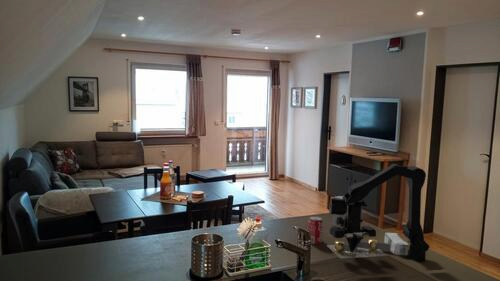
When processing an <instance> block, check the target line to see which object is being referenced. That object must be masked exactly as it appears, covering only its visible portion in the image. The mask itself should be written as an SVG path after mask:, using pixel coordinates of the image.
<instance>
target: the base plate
mask: <svg viewBox="0 0 500 281" xmlns="http://www.w3.org/2000/svg"><path fill="white" fill-rule="evenodd" d="M334 246H335V244H330V245H329V244H326V247H327V248H329V250H331V251H332V252H333V253H334V254H335V255H336V256H337V257H338V258H339V259H353V258H357V259H358V258H371V257H388V255H389V254H387V253H385V251H384V250H381V249H377V250H370V249H364V248H359V247H357V250H356V253H353V252H347V251H343V252H337V251H335V250H334Z"/></svg>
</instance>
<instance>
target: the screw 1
mask: <svg viewBox="0 0 500 281" xmlns="http://www.w3.org/2000/svg"><path fill="white" fill-rule="evenodd" d="M334 245H335V246H334V250H335V251H337V252H343V251H347V252H351V251H350V248H349V245H348V243H345V241H342V240H335V241H334ZM356 250H357V246H356V248H355V249H354V251H353V253H356Z"/></svg>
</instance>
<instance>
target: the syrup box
mask: <svg viewBox="0 0 500 281" xmlns="http://www.w3.org/2000/svg"><path fill="white" fill-rule="evenodd" d="M383 243H388V244H390V251H391V252H392V253H393V254H394V255H396V256H409V243H407V241H405V240H404V239H403V237H402V236H400V235H399V233H397V232H384V240H383Z"/></svg>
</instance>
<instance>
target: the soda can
mask: <svg viewBox="0 0 500 281" xmlns="http://www.w3.org/2000/svg"><path fill="white" fill-rule="evenodd" d="M306 227H307V228H306V229H307V230H306V232H307V231H309V232H310V233H311V243H310V244H313V245H320V244H322V243H323V235H324V234H323V233H324V232H323V231H324V221H323V217H321V216H317V215H316V216H315V215H312V216H309V217H308V220H307V226H306Z"/></svg>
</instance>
